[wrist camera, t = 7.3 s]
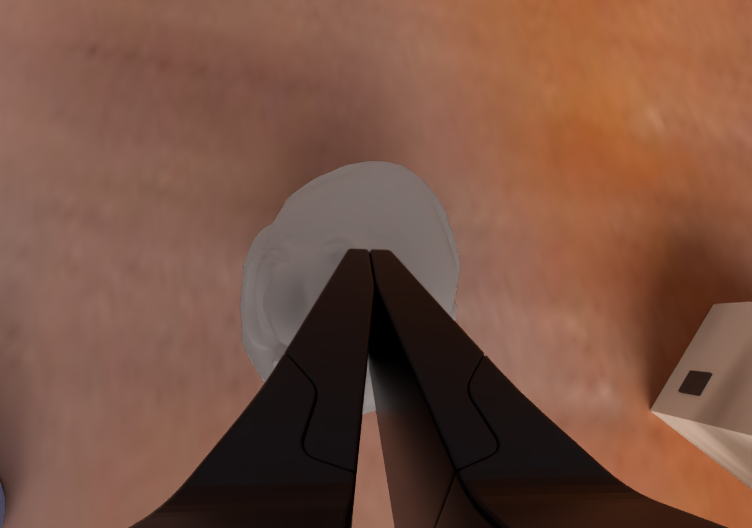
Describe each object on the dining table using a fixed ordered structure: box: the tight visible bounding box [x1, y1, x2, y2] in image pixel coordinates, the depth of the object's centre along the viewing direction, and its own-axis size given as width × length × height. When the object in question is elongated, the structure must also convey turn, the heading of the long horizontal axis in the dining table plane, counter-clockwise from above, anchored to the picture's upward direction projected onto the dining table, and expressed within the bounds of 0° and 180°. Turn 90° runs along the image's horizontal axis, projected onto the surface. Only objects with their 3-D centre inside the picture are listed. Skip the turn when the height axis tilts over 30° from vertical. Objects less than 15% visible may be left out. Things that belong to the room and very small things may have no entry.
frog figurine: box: [240, 161, 460, 415], centre depth 13 cm, size 6×7×7 cm
